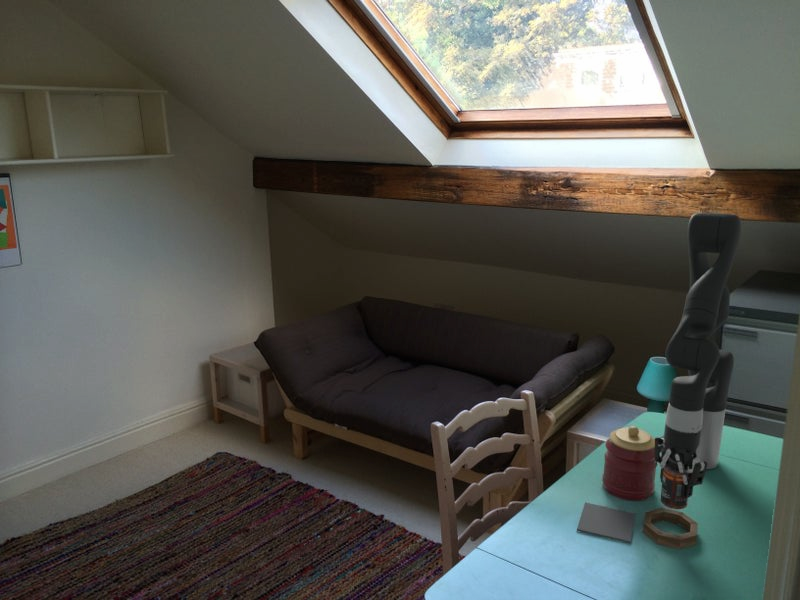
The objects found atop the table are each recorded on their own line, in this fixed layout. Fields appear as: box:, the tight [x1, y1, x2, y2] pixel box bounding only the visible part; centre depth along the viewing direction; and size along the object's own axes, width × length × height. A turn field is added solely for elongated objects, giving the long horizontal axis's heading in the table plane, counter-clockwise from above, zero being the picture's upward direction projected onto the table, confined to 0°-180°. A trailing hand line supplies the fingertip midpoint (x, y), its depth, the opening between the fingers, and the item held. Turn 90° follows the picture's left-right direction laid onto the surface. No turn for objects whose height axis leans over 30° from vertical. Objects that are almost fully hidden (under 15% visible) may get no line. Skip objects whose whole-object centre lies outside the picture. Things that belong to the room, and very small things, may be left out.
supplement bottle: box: [659, 458, 690, 510], centre depth 158 cm, size 6×6×11 cm
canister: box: [601, 425, 658, 502], centre depth 178 cm, size 13×13×18 cm
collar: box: [642, 507, 699, 550], centre depth 162 cm, size 12×12×2 cm
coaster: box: [576, 501, 636, 544], centre depth 165 cm, size 12×12×1 cm
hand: (675, 489), depth 159 cm, fingers closed on supplement bottle, 6 cm apart
